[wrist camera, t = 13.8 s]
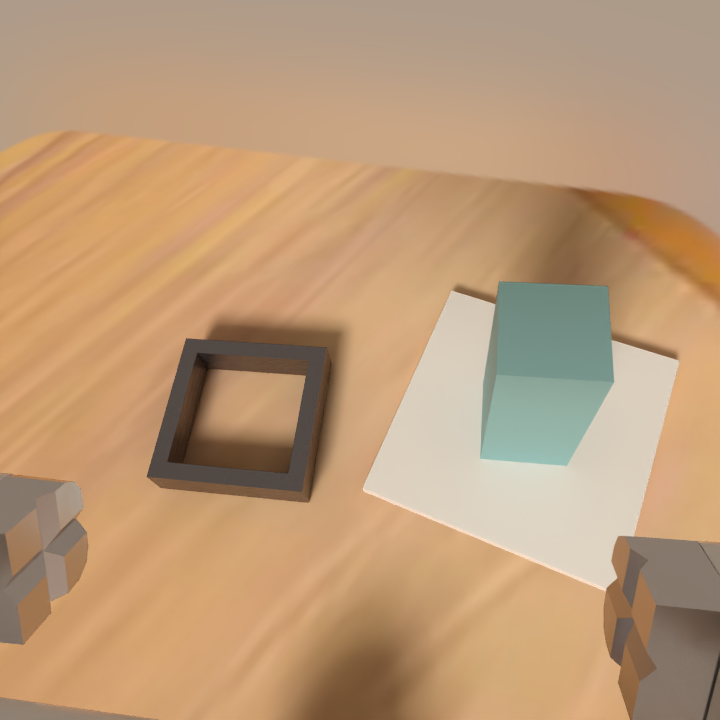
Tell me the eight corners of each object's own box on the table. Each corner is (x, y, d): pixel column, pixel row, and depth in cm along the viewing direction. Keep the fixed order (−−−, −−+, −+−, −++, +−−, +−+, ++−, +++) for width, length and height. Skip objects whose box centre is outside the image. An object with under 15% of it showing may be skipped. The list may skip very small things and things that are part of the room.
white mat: (363, 491, 31) (362, 488, 31) (451, 296, 36) (451, 290, 35) (615, 595, 28) (618, 593, 28) (675, 366, 33) (679, 360, 32)
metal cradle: (160, 487, 32) (146, 476, 31) (196, 354, 36) (186, 338, 34) (308, 502, 31) (301, 492, 30) (331, 363, 35) (326, 347, 33)
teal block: (480, 458, 31) (496, 374, 23) (482, 383, 33) (499, 281, 25) (566, 465, 30) (614, 382, 22) (564, 388, 32) (608, 285, 24)
